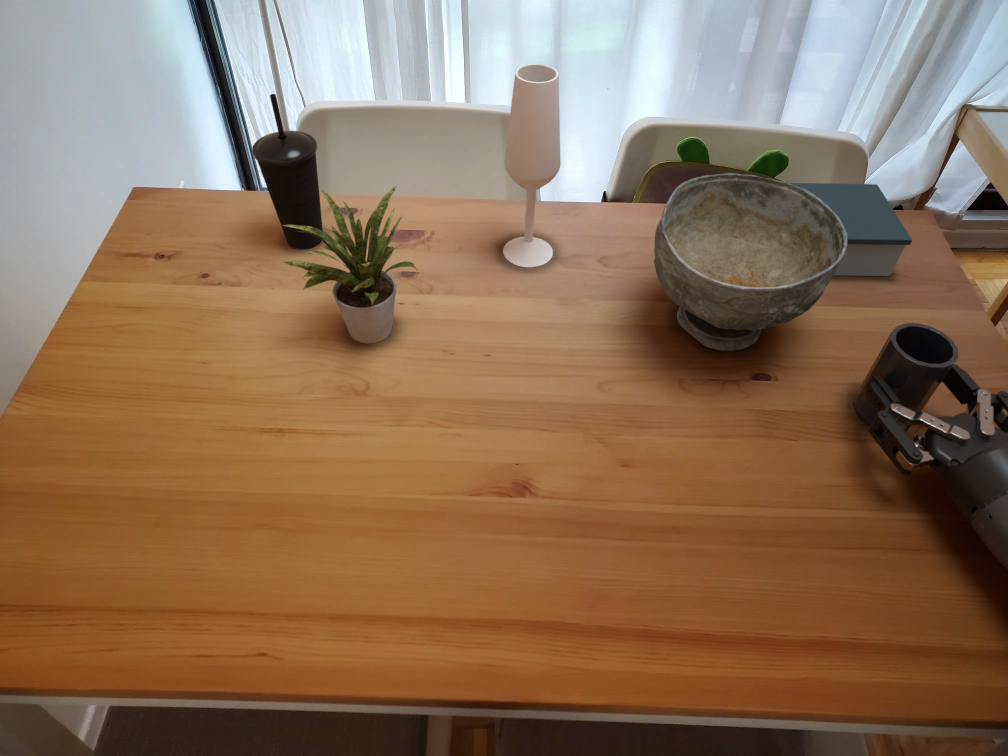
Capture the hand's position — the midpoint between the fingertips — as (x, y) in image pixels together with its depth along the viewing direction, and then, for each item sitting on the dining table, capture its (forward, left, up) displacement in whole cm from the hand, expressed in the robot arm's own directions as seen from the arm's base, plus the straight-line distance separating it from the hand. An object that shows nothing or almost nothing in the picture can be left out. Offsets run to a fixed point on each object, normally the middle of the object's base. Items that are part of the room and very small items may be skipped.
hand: (909, 375), depth 73 cm
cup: (0, 0, -6) cm, 6 cm away
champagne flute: (+38, -27, -6) cm, 47 cm away
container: (-3, -29, -6) cm, 30 cm away
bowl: (+15, -13, -6) cm, 21 cm away
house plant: (+57, -13, -6) cm, 59 cm away
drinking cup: (+68, -29, -6) cm, 74 cm away
